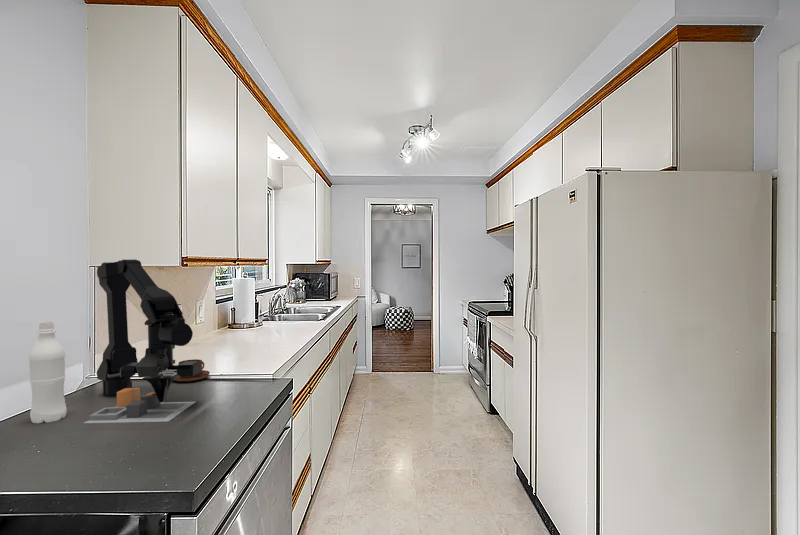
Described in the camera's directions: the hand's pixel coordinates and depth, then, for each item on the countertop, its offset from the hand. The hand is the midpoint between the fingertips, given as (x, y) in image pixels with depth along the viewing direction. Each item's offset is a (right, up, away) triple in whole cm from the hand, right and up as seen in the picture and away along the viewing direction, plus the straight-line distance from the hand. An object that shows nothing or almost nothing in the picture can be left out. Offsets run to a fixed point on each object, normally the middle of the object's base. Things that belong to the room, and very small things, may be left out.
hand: (161, 401), depth 125 cm
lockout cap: (-10, -1, +2) cm, 10 cm away
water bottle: (-24, -3, -8) cm, 25 cm away
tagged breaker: (-3, -1, 0) cm, 3 cm away
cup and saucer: (-8, -3, +36) cm, 37 cm away
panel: (-3, -3, -4) cm, 6 cm away
